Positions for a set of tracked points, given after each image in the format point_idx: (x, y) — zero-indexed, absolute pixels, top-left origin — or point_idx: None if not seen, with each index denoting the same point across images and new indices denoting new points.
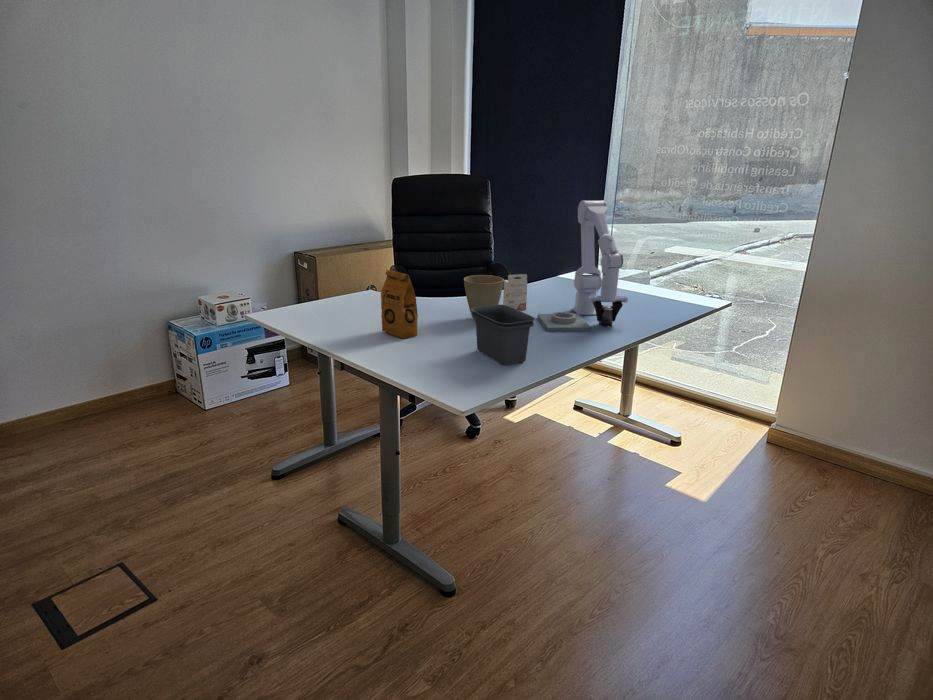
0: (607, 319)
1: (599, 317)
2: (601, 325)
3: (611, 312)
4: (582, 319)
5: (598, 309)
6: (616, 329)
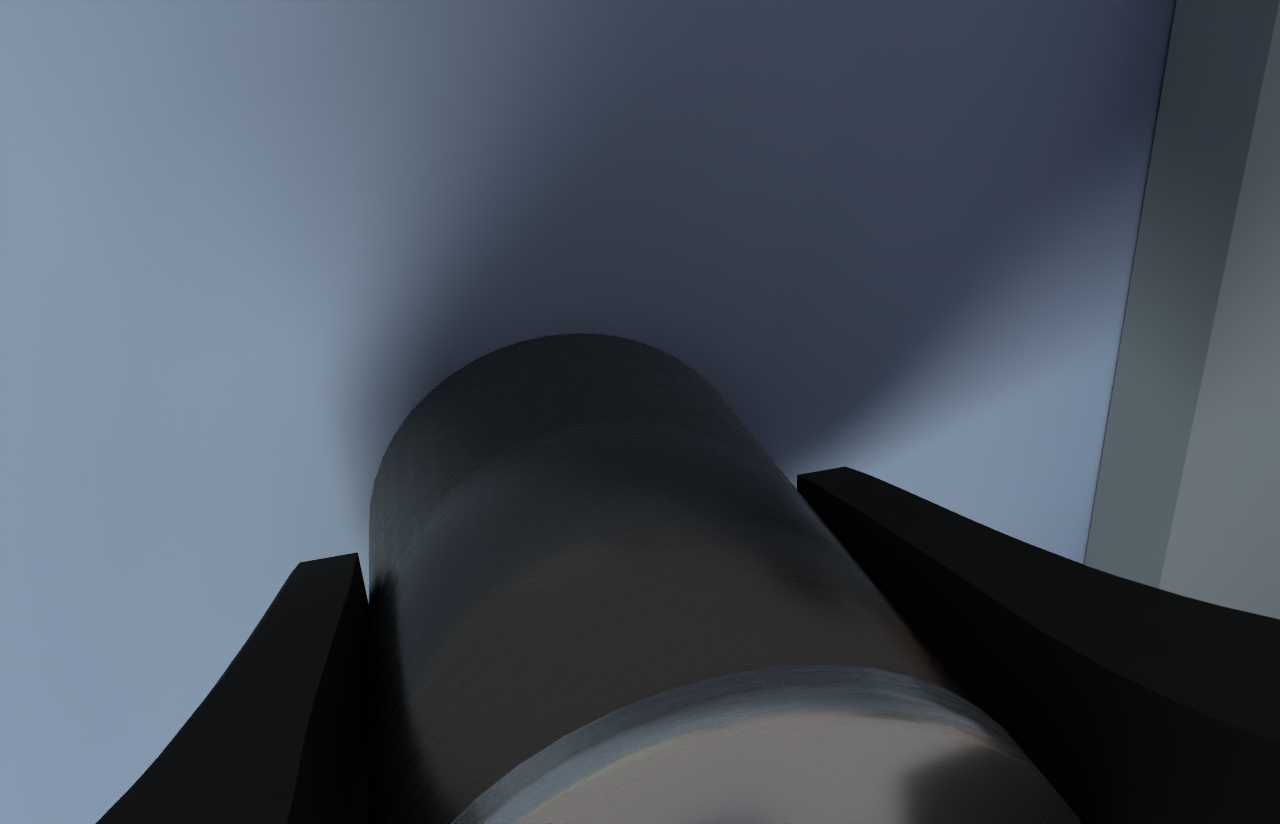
0: (628, 429)
1: (912, 510)
2: (716, 395)
3: (530, 654)
4: (1181, 591)
5: (1273, 634)
6: (283, 55)
